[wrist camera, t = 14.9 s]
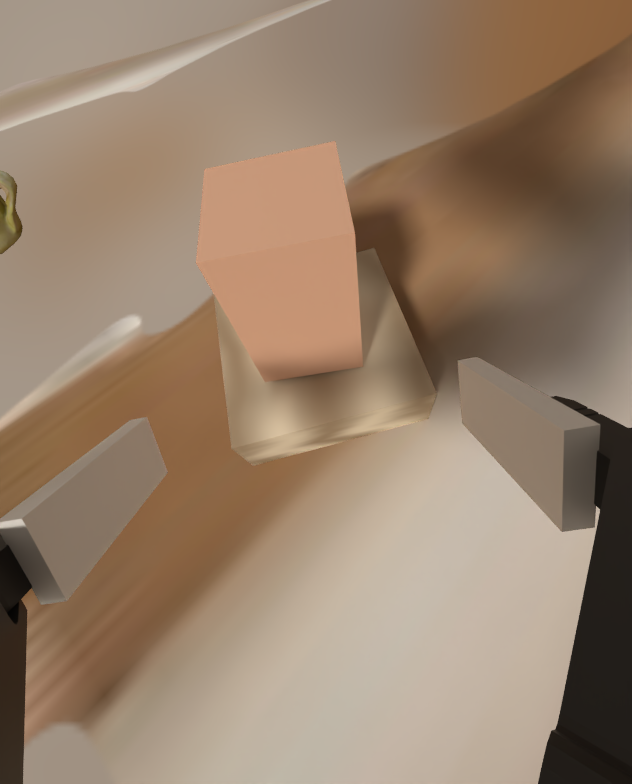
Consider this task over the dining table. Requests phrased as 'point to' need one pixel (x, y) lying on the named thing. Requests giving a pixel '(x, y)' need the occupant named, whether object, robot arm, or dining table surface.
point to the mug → (8, 213)
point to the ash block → (329, 383)
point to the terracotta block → (284, 260)
